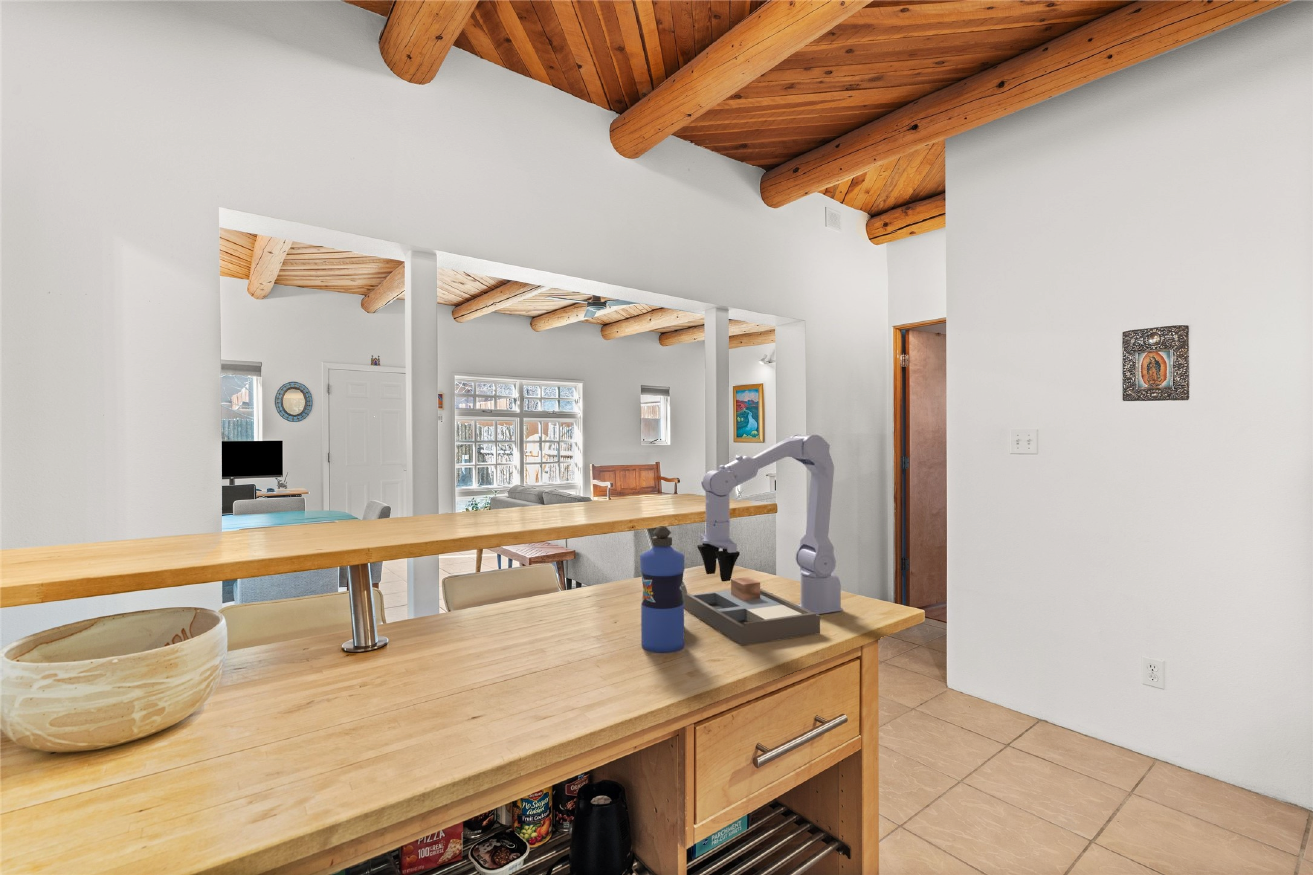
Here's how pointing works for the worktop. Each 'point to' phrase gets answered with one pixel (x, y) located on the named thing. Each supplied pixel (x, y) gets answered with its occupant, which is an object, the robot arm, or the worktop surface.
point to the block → (745, 588)
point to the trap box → (752, 616)
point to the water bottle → (662, 595)
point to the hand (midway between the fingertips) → (718, 577)
